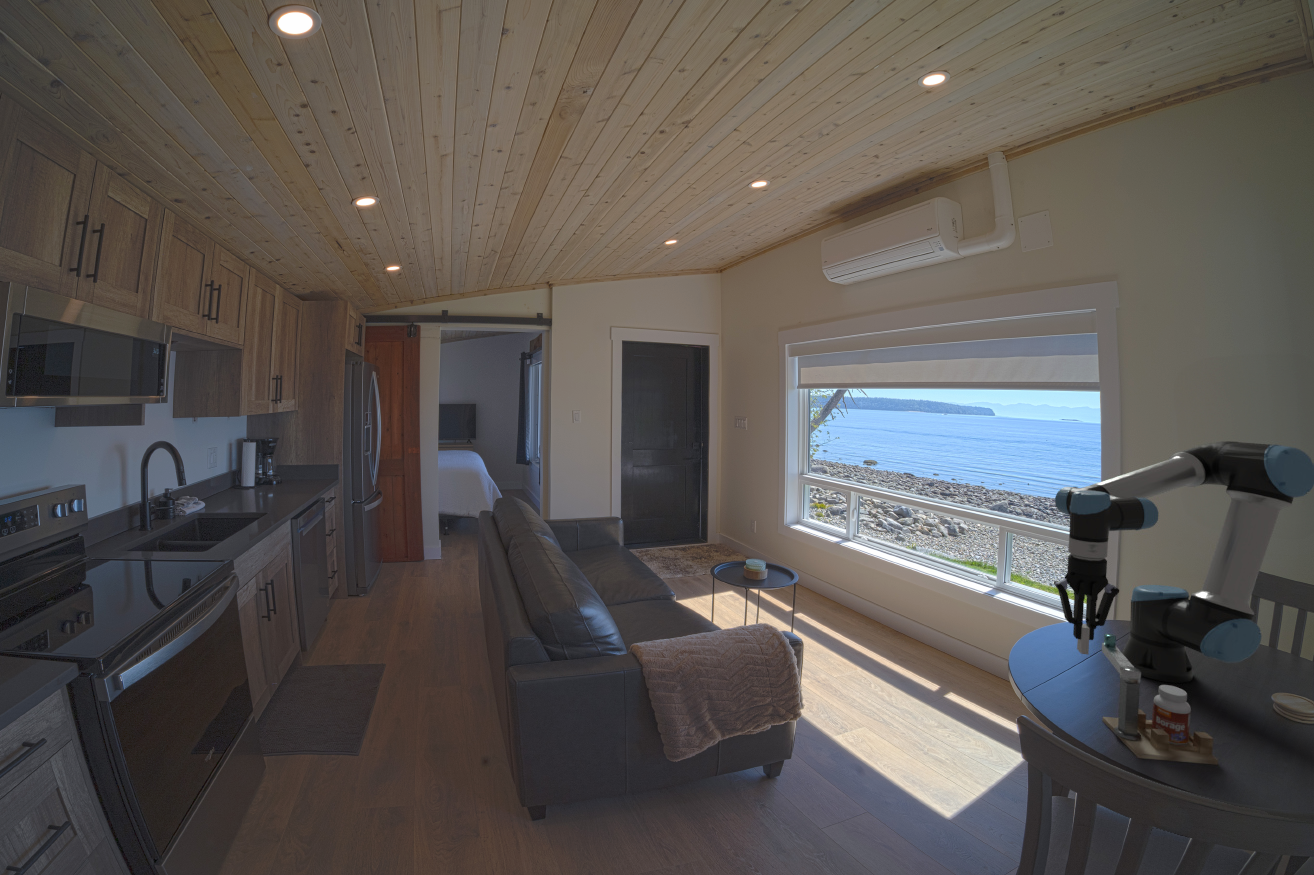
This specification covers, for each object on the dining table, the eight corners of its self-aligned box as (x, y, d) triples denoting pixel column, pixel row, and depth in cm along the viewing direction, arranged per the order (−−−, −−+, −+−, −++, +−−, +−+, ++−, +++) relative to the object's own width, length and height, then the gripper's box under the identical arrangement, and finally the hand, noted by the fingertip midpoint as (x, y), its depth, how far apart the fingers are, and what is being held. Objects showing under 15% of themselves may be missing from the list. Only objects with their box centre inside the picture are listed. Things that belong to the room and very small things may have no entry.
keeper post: (1133, 729, 134) (1135, 676, 133) (1146, 742, 129) (1149, 687, 128) (1109, 727, 135) (1111, 674, 134) (1121, 740, 130) (1124, 685, 129)
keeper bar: (1143, 684, 129) (1144, 664, 128) (1123, 681, 130) (1124, 662, 130) (1116, 652, 143) (1117, 634, 143) (1098, 650, 145) (1099, 632, 144)
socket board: (1173, 726, 137) (1174, 707, 136) (1218, 764, 123) (1219, 744, 123) (1102, 720, 139) (1103, 702, 139) (1138, 757, 126) (1139, 737, 125)
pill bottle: (1150, 739, 130) (1153, 690, 129) (1152, 726, 135) (1154, 680, 134) (1188, 750, 126) (1191, 700, 125) (1188, 737, 131) (1191, 689, 130)
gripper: (1061, 558, 140) (1056, 655, 142) (1127, 562, 136) (1121, 662, 138) (1050, 550, 147) (1046, 642, 149) (1113, 553, 143) (1108, 648, 145)
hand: (1082, 651), depth 143 cm, fingers closed
